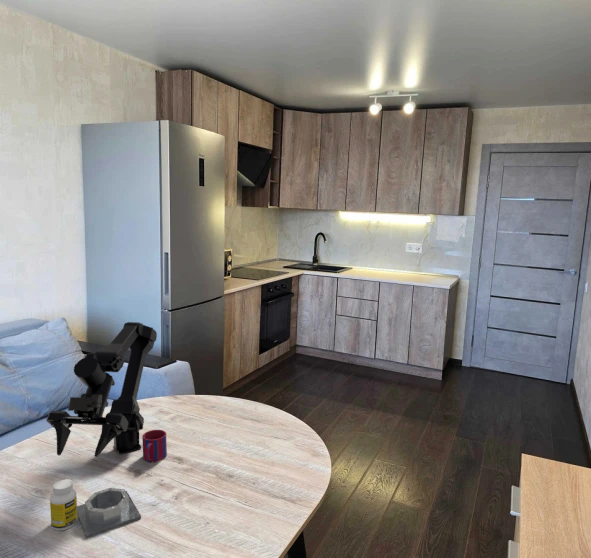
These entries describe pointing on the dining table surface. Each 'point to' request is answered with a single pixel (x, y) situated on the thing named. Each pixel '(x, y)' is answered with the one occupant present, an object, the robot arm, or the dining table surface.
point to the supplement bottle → (63, 505)
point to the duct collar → (106, 511)
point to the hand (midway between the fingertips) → (77, 455)
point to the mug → (154, 445)
